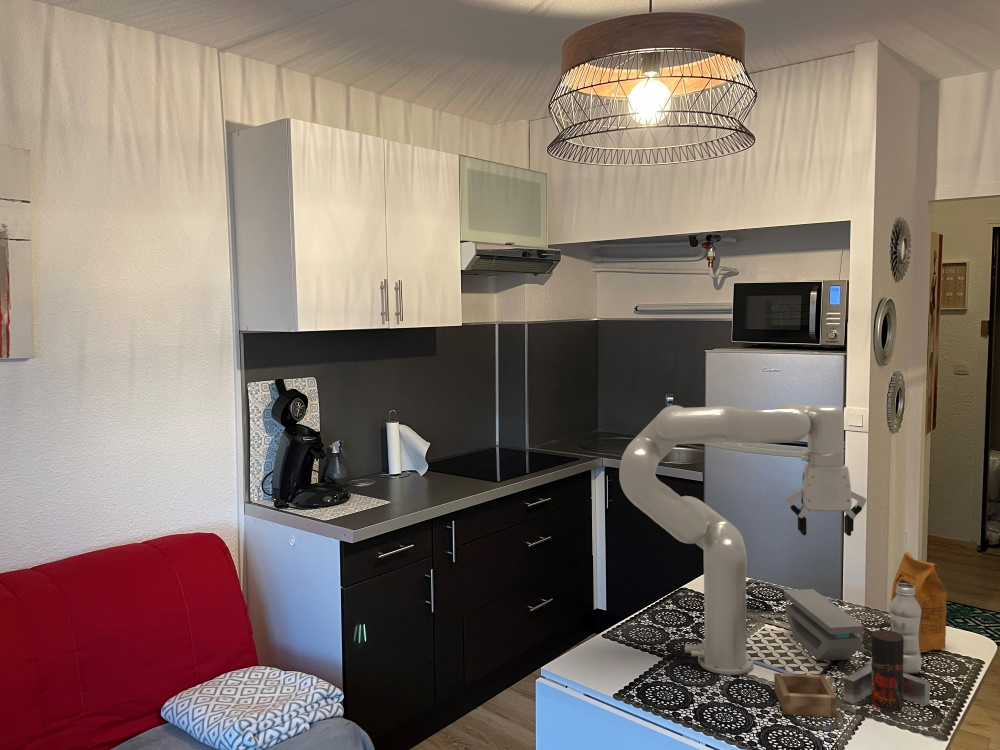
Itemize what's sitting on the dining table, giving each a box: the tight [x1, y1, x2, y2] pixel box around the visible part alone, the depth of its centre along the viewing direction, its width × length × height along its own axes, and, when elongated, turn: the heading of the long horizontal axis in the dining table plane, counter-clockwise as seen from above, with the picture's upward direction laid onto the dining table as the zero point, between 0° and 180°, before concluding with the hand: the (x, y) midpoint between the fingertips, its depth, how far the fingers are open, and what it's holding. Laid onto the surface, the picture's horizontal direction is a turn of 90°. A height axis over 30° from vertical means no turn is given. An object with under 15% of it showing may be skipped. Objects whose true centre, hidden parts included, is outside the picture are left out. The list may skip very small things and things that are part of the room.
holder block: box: [773, 672, 838, 718], centre depth 168 cm, size 10×10×4 cm
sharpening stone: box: [783, 588, 865, 661], centre depth 194 cm, size 25×8×11 cm, turn 4°
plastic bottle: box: [888, 583, 923, 675], centre depth 181 cm, size 6×7×20 cm
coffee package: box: [889, 551, 948, 654], centre depth 196 cm, size 10×12×22 cm
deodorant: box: [871, 629, 904, 713], centre depth 166 cm, size 6×6×15 cm
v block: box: [843, 659, 931, 706], centre depth 172 cm, size 17×11×5 cm
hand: (825, 534), depth 181 cm, fingers open, 9 cm apart
